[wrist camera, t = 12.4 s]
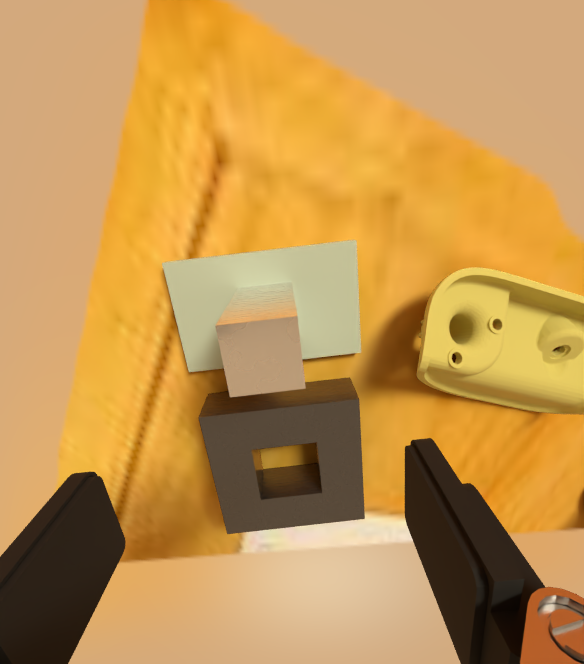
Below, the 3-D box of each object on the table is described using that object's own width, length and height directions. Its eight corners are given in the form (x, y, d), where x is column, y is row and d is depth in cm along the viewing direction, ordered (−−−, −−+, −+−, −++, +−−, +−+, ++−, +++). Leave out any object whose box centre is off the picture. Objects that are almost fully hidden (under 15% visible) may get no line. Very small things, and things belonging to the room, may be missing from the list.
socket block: (349, 377, 32) (359, 399, 28) (355, 487, 36) (364, 518, 33) (208, 393, 32) (198, 417, 28) (232, 501, 37) (227, 534, 33)
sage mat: (353, 239, 27) (356, 240, 26) (358, 348, 31) (361, 352, 30) (166, 261, 27) (162, 263, 26) (191, 367, 31) (188, 372, 30)
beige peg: (291, 281, 27) (297, 315, 18) (297, 332, 29) (305, 388, 19) (237, 288, 27) (215, 325, 18) (246, 338, 29) (229, 397, 20)
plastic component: (636, 312, 28) (628, 428, 27) (551, 321, 35) (541, 413, 34) (437, 251, 24) (417, 383, 23) (388, 275, 31) (370, 377, 30)
